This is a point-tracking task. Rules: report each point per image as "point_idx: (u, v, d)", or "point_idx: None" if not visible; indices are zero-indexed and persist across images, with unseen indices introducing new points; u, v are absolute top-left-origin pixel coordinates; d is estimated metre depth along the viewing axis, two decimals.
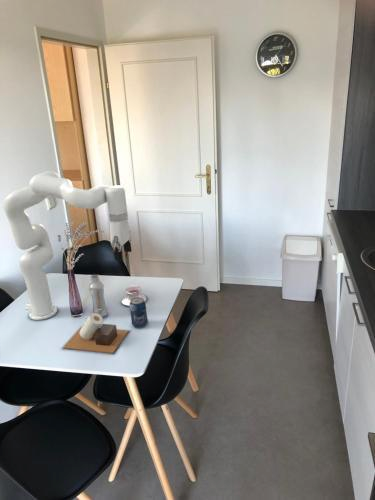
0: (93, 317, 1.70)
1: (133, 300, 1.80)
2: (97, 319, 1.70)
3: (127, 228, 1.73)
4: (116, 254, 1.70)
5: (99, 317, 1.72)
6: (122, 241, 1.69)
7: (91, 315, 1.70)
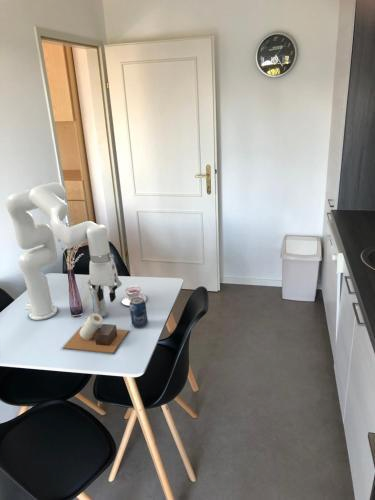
0: (93, 317, 1.70)
1: (133, 300, 1.80)
2: (97, 319, 1.70)
3: (104, 273, 1.58)
4: None
5: (99, 317, 1.72)
6: (92, 281, 1.61)
7: (91, 315, 1.70)
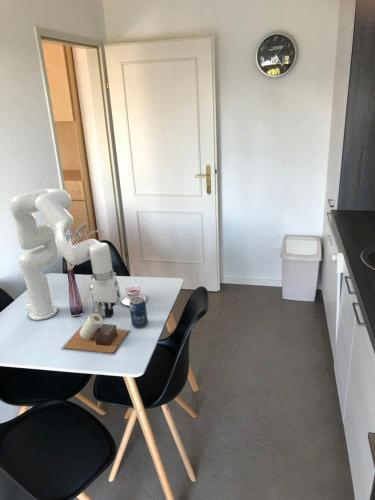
0: (93, 317, 1.70)
1: (133, 300, 1.80)
2: (97, 319, 1.70)
3: (107, 290, 1.61)
4: None
5: (99, 317, 1.72)
6: (95, 298, 1.64)
7: (91, 315, 1.70)
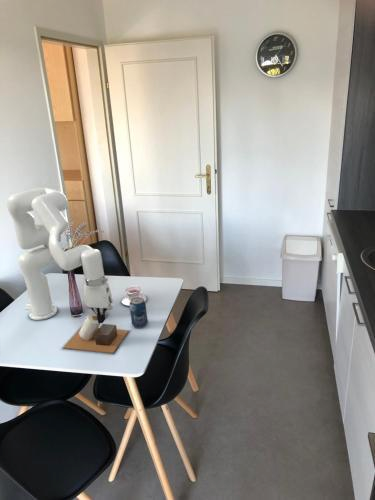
0: (91, 317, 1.70)
1: (133, 300, 1.80)
2: (96, 319, 1.70)
3: (99, 296, 1.63)
4: None
5: None
6: (87, 303, 1.66)
7: (89, 315, 1.70)
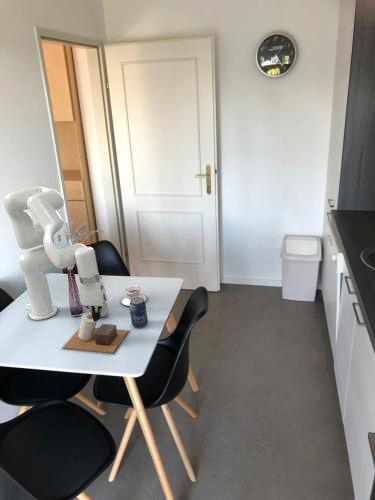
0: (86, 316, 1.70)
1: (133, 300, 1.80)
2: (91, 318, 1.70)
3: (93, 294, 1.63)
4: None
5: None
6: (82, 301, 1.66)
7: (84, 315, 1.70)
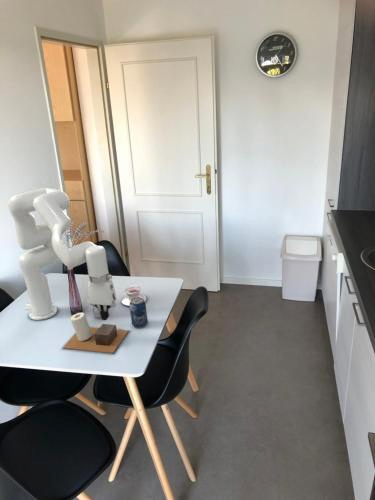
0: (74, 317, 1.72)
1: (133, 300, 1.80)
2: (78, 316, 1.71)
3: (103, 293, 1.62)
4: None
5: (80, 314, 1.73)
6: (91, 300, 1.65)
7: (72, 317, 1.72)
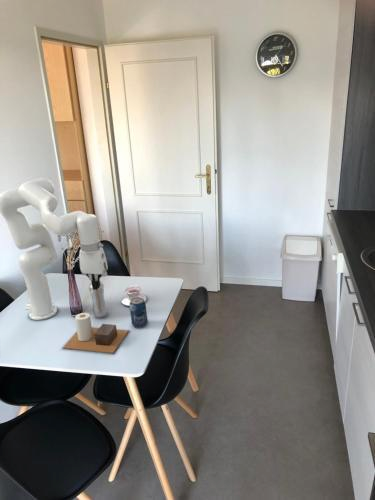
0: (79, 316, 1.72)
1: (133, 300, 1.80)
2: (83, 316, 1.72)
3: (94, 262, 1.62)
4: None
5: (85, 314, 1.74)
6: (82, 269, 1.66)
7: (77, 315, 1.73)
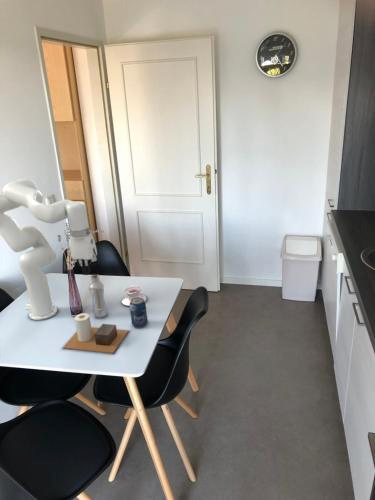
0: (78, 317, 1.72)
1: (133, 300, 1.80)
2: (83, 317, 1.72)
3: (83, 247, 1.70)
4: None
5: (85, 315, 1.73)
6: (72, 255, 1.73)
7: (76, 316, 1.72)
